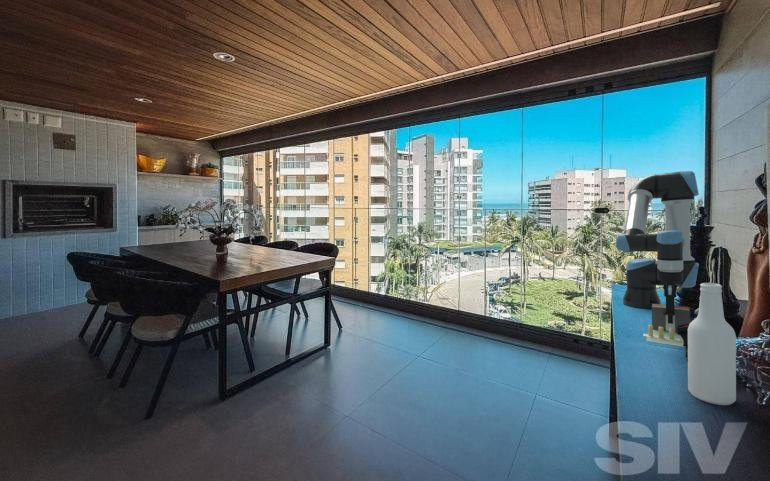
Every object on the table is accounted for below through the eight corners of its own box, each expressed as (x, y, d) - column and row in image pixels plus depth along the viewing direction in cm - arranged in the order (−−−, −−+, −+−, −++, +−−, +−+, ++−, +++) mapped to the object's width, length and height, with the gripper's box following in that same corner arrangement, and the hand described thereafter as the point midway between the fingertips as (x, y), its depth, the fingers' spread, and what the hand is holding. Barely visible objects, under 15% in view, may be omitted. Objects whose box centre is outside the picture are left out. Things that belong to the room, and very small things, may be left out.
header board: (645, 327, 134) (645, 315, 133) (689, 333, 125) (689, 320, 124) (642, 343, 119) (641, 329, 119) (691, 351, 110) (691, 336, 110)
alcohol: (724, 390, 87) (724, 281, 85) (744, 409, 79) (744, 288, 77) (682, 385, 90) (681, 280, 88) (696, 402, 82) (696, 287, 80)
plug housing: (652, 325, 132) (652, 303, 131) (689, 330, 124) (689, 307, 124) (652, 329, 128) (651, 306, 127) (690, 334, 121) (689, 310, 120)
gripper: (658, 266, 134) (658, 320, 135) (656, 273, 120) (657, 334, 122) (682, 267, 129) (683, 323, 130) (683, 275, 115) (683, 338, 117)
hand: (670, 328), depth 126 cm, fingers closed on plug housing, 5 cm apart
